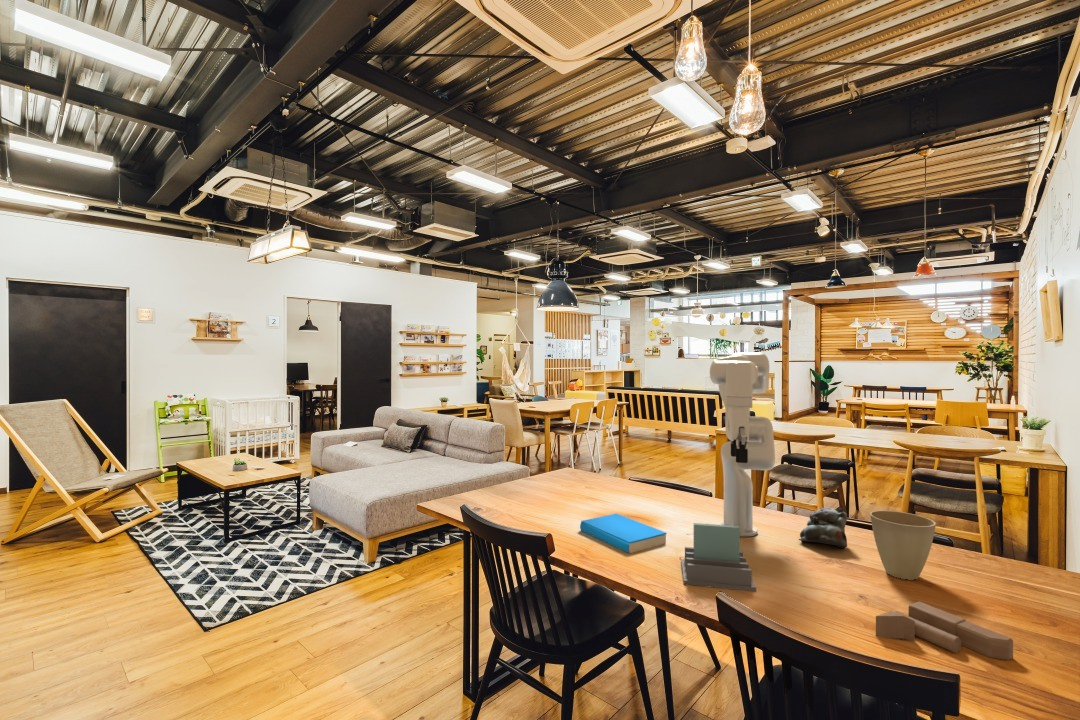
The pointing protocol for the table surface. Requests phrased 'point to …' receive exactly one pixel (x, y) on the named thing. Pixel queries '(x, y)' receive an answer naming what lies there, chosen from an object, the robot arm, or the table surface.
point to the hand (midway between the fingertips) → (738, 459)
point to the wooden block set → (943, 631)
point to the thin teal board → (716, 542)
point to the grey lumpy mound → (826, 527)
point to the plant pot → (902, 542)
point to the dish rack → (717, 572)
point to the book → (623, 532)
